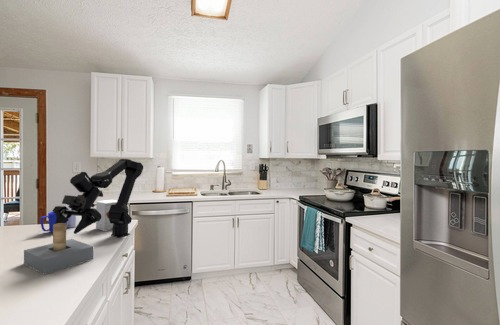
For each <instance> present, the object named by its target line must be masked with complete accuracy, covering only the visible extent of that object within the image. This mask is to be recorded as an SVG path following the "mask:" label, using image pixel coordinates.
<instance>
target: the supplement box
mask: <svg viewBox="0 0 500 325" xmlns="http://www.w3.org/2000/svg"><path fill="white" fill-rule="evenodd" d="M117 201H118V200H115V199H106V200H98V201H96V207H95V209H96V210H97V211H98V212H99V213H100V214H101V219H100V221H99V222H98V221H96V223H95V229H97V230H99V231H103V232H107V231H112V227H113V223H112V224H111V223H110V221H109V217H108V214H109V213H108V212H109V210H110V207H111V205H115V204H116V203H117Z"/></svg>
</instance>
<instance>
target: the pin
mask: <svg viewBox="0 0 500 325" xmlns="http://www.w3.org/2000/svg"><path fill="white" fill-rule="evenodd" d="M66 240H67V227H66V223H58V224H54V225H53V233H52V243H53V251H54V252H56V251H60V250H64V249H66Z"/></svg>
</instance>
